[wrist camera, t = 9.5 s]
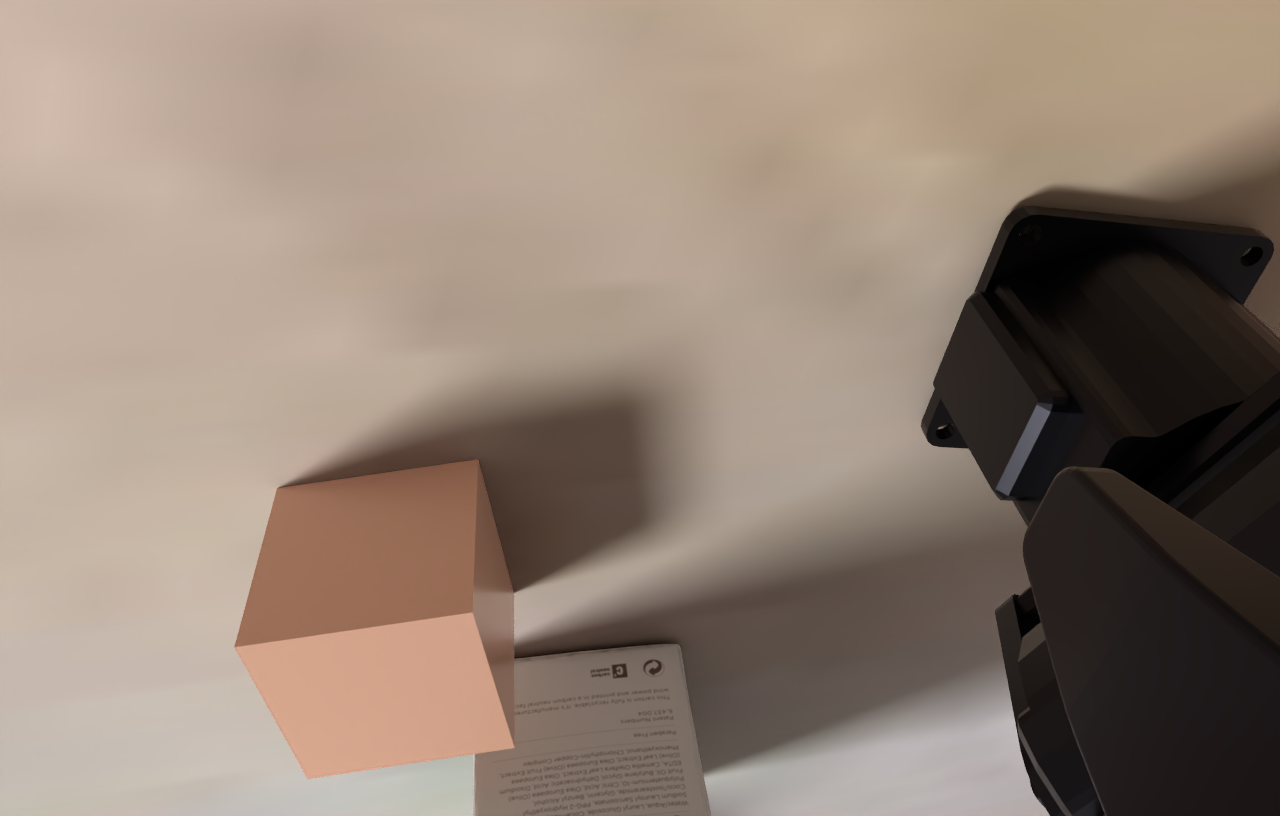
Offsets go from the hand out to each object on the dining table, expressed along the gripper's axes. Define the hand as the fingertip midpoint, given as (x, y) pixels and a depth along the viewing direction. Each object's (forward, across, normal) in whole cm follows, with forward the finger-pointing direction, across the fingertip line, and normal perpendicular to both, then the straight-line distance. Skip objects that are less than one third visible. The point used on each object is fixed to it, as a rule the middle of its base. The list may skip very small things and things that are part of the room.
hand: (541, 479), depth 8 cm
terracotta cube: (+13, +2, +14) cm, 19 cm away
